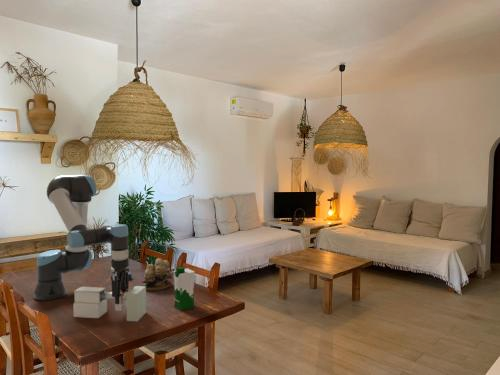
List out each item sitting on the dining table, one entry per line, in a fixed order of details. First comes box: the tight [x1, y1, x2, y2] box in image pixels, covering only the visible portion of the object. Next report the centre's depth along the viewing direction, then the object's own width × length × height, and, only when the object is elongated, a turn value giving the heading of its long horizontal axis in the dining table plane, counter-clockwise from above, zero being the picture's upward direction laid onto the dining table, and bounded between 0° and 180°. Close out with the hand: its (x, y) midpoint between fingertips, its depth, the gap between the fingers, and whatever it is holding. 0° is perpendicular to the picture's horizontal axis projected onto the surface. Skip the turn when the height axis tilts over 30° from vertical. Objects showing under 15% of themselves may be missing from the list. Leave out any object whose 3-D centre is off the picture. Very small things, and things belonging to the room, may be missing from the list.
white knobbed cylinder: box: [110, 266, 133, 280], centre depth 238 cm, size 5×7×25 cm
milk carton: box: [172, 266, 196, 311], centre depth 186 cm, size 9×9×20 cm
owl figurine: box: [141, 258, 174, 293], centre depth 214 cm, size 18×12×17 cm, turn 130°
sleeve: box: [73, 286, 108, 319], centre depth 177 cm, size 12×8×12 cm, turn 83°
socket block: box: [126, 285, 147, 322], centre depth 174 cm, size 5×10×13 cm, turn 173°
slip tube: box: [100, 290, 127, 304], centre depth 175 cm, size 19×4×4 cm, turn 83°
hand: (120, 307), depth 175 cm, fingers closed on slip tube, 4 cm apart
